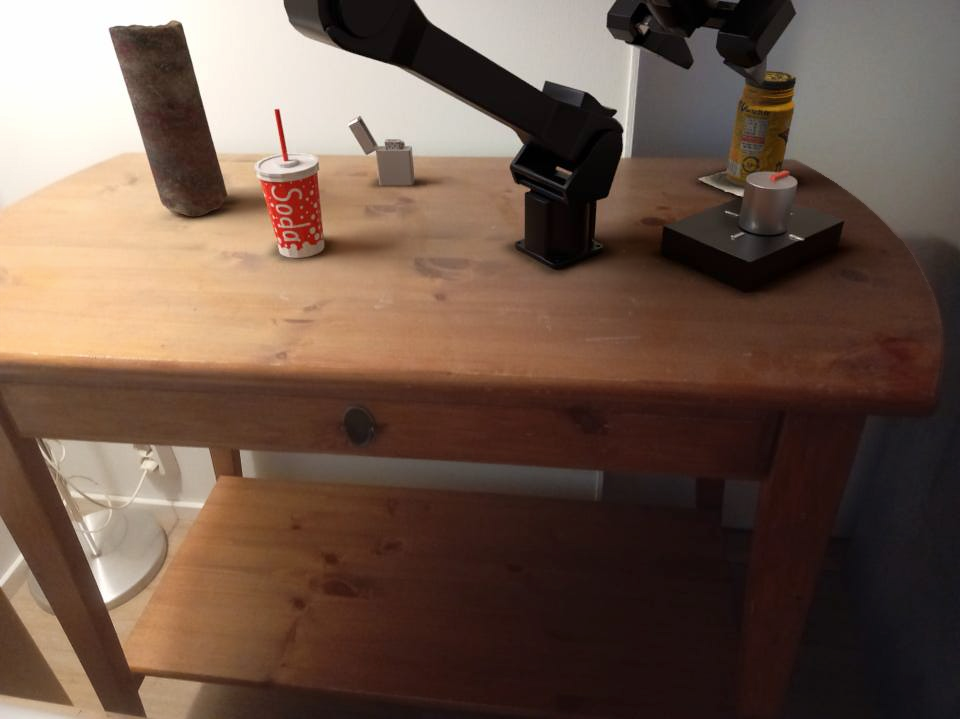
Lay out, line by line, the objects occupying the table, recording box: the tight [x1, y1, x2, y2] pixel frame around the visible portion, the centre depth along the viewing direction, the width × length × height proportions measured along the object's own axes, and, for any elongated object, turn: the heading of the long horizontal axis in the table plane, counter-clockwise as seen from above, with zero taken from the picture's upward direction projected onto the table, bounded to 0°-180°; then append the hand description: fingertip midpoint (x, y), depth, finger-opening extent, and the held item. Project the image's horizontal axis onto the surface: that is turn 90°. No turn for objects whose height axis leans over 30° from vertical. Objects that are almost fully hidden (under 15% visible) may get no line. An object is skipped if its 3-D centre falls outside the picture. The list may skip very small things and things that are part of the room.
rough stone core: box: [108, 19, 228, 217], centre depth 81 cm, size 8×7×20 cm
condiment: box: [698, 70, 797, 197], centre depth 84 cm, size 7×8×12 cm
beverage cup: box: [254, 108, 326, 259], centre depth 72 cm, size 6×6×14 cm
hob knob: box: [739, 170, 798, 235], centre depth 68 cm, size 4×4×5 cm
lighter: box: [347, 115, 416, 186], centre depth 89 cm, size 7×2×8 cm, turn 85°
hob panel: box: [659, 196, 845, 293], centre depth 71 cm, size 14×10×3 cm
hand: (724, 73), depth 76 cm, fingers open, 9 cm apart
